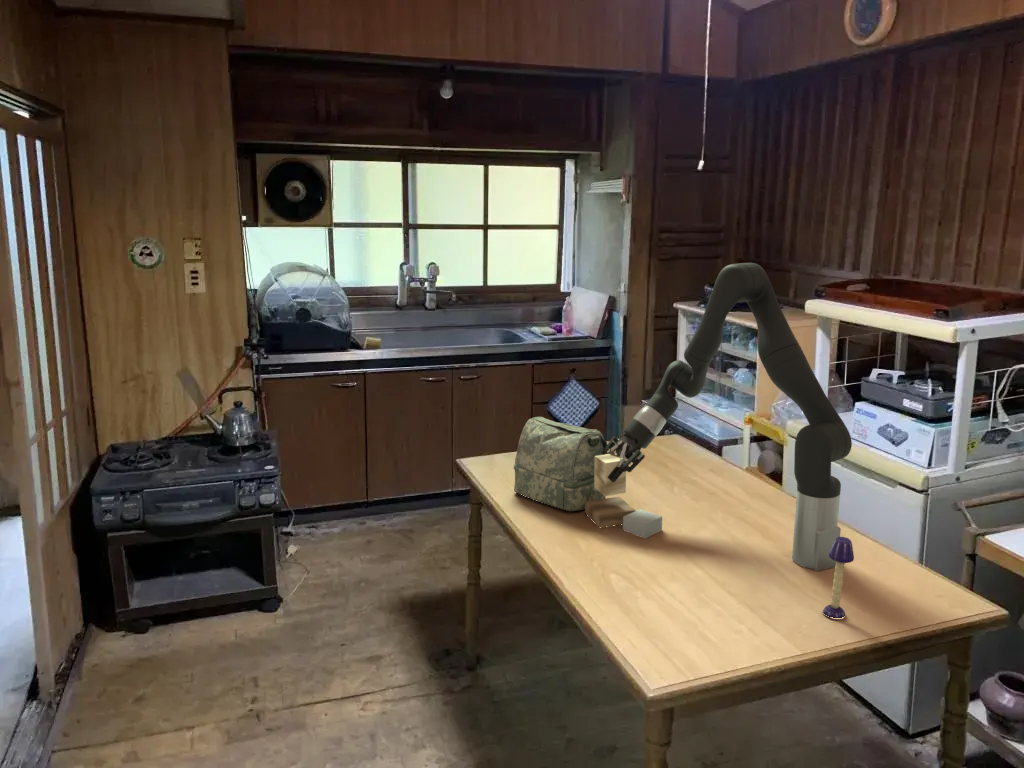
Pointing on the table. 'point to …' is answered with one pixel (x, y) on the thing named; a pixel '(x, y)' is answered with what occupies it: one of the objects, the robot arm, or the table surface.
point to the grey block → (642, 523)
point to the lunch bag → (558, 463)
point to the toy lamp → (839, 574)
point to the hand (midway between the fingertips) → (604, 475)
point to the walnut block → (608, 511)
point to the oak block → (603, 470)
